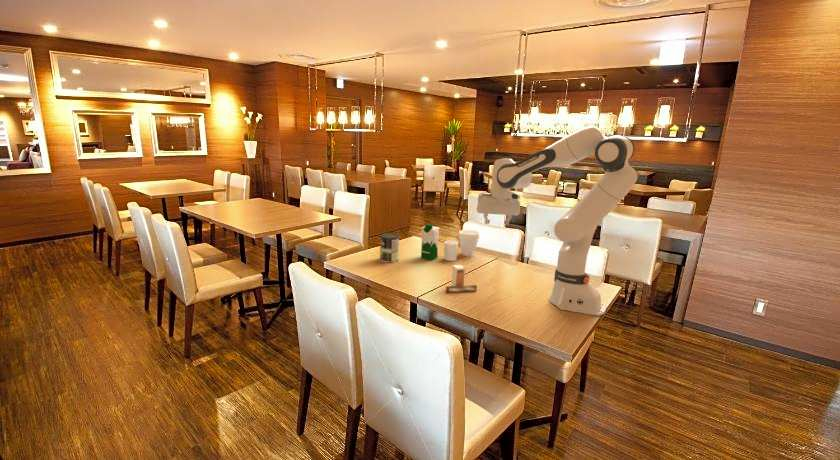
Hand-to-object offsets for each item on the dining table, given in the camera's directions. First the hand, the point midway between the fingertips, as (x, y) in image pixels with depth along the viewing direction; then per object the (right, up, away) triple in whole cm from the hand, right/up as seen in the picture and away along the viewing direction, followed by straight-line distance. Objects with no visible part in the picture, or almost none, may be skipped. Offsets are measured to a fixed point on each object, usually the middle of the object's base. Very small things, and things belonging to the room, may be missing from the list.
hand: (496, 224), depth 178 cm
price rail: (-17, -30, -4) cm, 35 cm away
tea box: (-18, -29, +1) cm, 34 cm away
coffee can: (-53, -20, +37) cm, 67 cm away
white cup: (-18, -20, +42) cm, 50 cm away
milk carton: (-30, -19, +43) cm, 56 cm away
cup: (-7, -18, +52) cm, 56 cm away
